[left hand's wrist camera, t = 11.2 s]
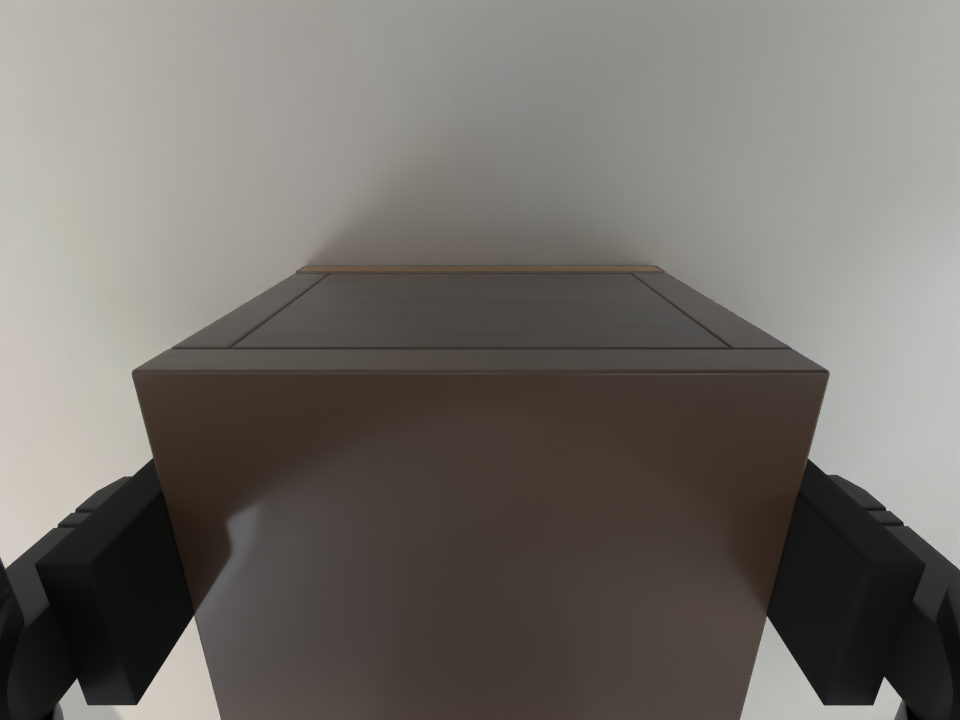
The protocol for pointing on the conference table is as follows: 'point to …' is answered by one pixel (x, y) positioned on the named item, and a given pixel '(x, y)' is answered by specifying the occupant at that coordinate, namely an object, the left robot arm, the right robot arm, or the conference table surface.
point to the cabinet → (480, 493)
